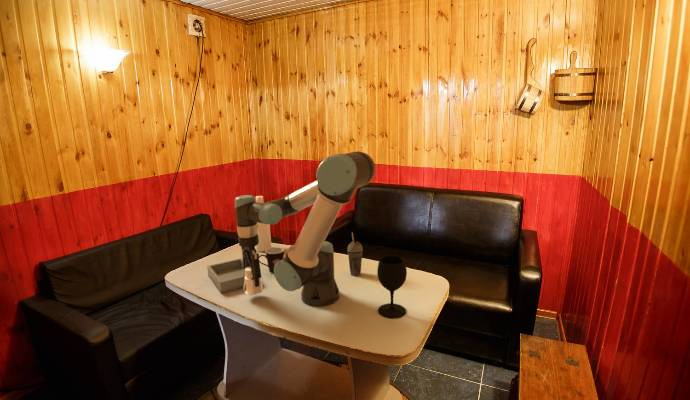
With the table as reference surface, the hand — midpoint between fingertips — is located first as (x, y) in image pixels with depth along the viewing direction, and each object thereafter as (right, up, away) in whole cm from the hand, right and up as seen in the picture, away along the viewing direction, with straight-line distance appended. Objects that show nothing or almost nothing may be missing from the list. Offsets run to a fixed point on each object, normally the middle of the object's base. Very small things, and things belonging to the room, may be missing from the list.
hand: (253, 289), depth 148 cm
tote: (-14, 0, +18) cm, 23 cm away
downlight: (0, -1, 0) cm, 1 cm away
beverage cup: (+41, +2, +20) cm, 46 cm away
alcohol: (-9, +9, +56) cm, 58 cm away
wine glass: (+54, -5, -13) cm, 55 cm away
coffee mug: (+2, +2, +27) cm, 27 cm away
